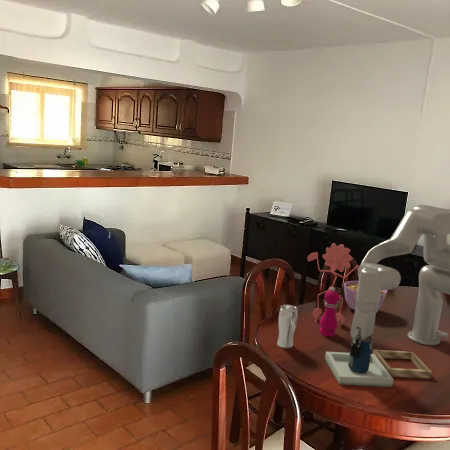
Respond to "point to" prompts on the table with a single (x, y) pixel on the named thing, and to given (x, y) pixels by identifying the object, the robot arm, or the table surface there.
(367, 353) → the soda can
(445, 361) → the table surface
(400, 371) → the oak frame
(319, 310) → the figurine
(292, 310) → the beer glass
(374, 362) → the sage dish
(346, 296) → the bowl of food
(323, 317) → the pepper mill
